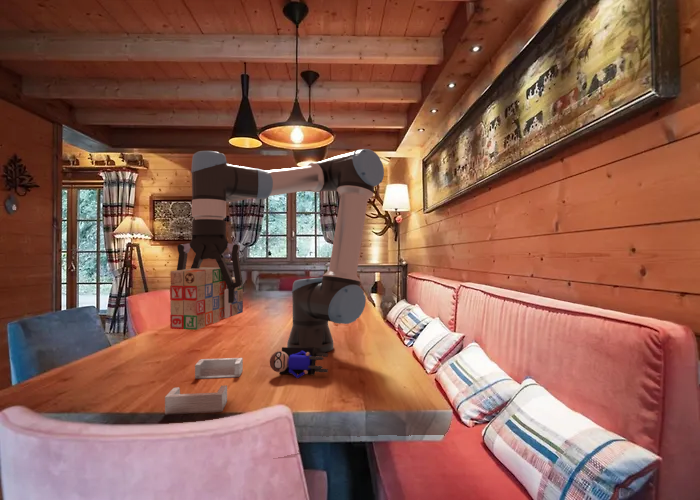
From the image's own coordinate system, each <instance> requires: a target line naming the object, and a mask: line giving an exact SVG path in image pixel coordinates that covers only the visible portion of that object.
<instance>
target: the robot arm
mask: <svg viewBox="0 0 700 500" xmlns="http://www.w3.org/2000/svg"><path fill="white" fill-rule="evenodd" d="M190 173H191V197H192V198H191V217H192V218H193V219H192V220H191V240H190V242H189V243H184V244H181V243H180V244H179V243H178V245H177V246H176V247H177V251H178V259H177V266H176V270H185V269H187V264H188V263H187V262H188V254H189V253H190V249H192V251H193V252H194V253H195V255H194V258H193V262H192V264H191V267H190V269H192V268H201V265H202V263H203V261H204V260H208V259H210V260H215V262H216V263H217V265H218V268H221V272H222V275H223V277H224V280H225V282H226V284H227V287H228V289H225V318H226V319H228V317H229V318H231V317H230V303H233V302H234V300H235V288H236V287H239V286H241V285H242V286H243V285H244V284H243V276H242V270H241V263H240V255H239V253H240V249H241V245H240V244H237V243H236V244H235V243H229V241H228V239H227V222H226V220H225V219H226V218H227V204H228V203H233V202H238V201H239V202H240V201H245V200H250V199H255V200H266V199H268V198H269V197H270V196H271V197H273V196H278V195H284V194H292V193H299V192H305V191H311V192H312V193H318V192H337V193H338V194H339V196H340V200H339V205H338V211H337V212H338V213H337V218H336V223H335V230H334V236H333V243H332V249H331V256H330V262H329V267H328V270H327V271H326V272H325V273H324V274H322V277H314V278H303V279H302V278H301V279H296V280H294V282H293V284H292V290H291V294H292V327H291V329H290V333H289V336H288V339H287V341H286V342H287V344H286V347H290V348H313V347H315V348H316V353H328V352H331V351H333V350H334V339H333V336H332V333H331V329H330V327H329V322H332V323H334V324H343V325H348V324H352V323H354V322H356V321H357V319H359V318H360V317H361V315H362V314H363V312H364V310H365V307H366V300H367V299H366V294H365V292H364V290H363V288H362V287H361V279H360V277H358V273H357V272H358V267H359V260H360V252H361V247H362V240H363V234H364V228H365V227H364V226H365V220H366V214H367V205H368V200H370V199H371V198H373V196H374V192H375V187H377V186H379V185H380V184H381V183H382V182H383V180H384V177H385V169H384V164H383V161H382V160H381V158H380V156H379V155H378V154H377V153H376V151H374V150H372V149H369V148H362V149H357V150H354V151H352V152H351V151H350V152H347V153H343V154H340V155H336V156H333V157H330V158H327V159H324V160H321V161H317V162H310V163H309V164H308V165H306V166H301V167H299V166H298V167H291V168H289V167H288V168H281V169H270V170H264V169H260V168H257V167H256V168H253V167H248V166H241V165H240V166H239V165H233V164H231V163H230V164H229V163H228V161H227V156H226V155H225V154H224V153H222V152H219V151H213V150H200V151H196V152H194V153H193V154H192V161H191V170H190ZM227 249H228V250H229V253H230V254H231V261H232V269H233V275H234V277H235V282H233V279H232V275H231V272H230V270H229V268H228V265H227V263H226V259H225V257H224V255H223V254H224V253H225V251H226V250H227Z"/></svg>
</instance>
